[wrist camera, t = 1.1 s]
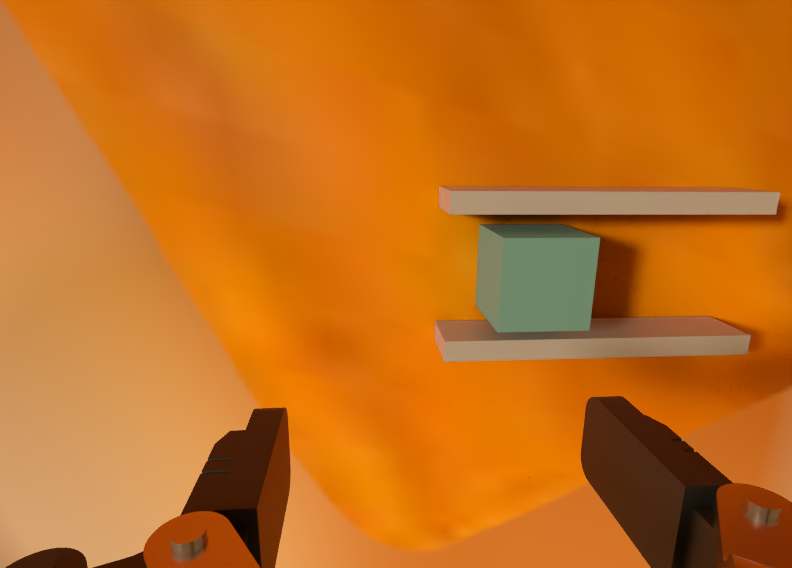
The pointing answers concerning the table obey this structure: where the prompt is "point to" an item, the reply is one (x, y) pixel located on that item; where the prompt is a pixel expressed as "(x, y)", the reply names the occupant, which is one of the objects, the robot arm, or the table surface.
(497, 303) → the teal block
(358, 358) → the table surface
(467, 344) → the grey channel
